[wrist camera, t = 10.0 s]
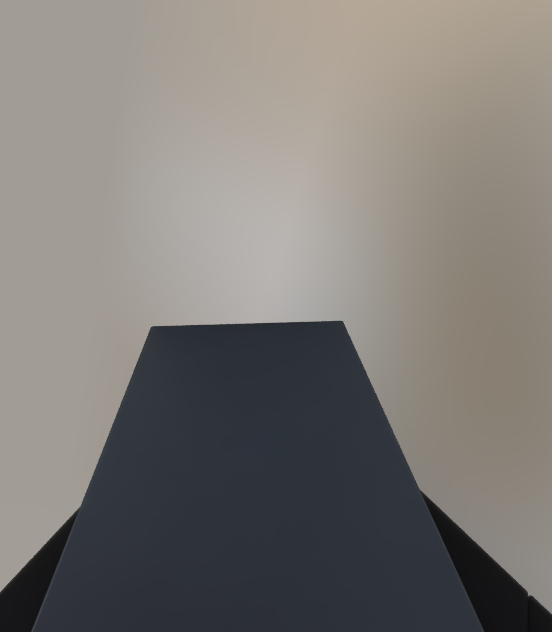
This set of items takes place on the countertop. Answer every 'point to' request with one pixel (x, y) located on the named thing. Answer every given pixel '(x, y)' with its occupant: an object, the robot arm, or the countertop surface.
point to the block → (253, 498)
